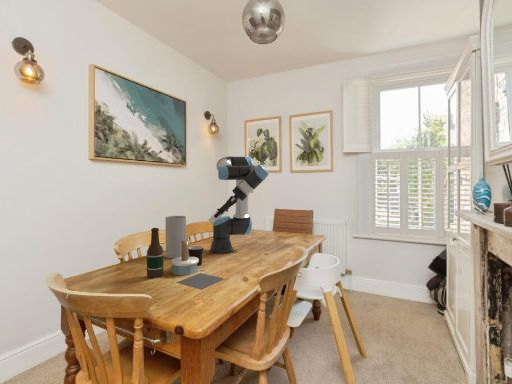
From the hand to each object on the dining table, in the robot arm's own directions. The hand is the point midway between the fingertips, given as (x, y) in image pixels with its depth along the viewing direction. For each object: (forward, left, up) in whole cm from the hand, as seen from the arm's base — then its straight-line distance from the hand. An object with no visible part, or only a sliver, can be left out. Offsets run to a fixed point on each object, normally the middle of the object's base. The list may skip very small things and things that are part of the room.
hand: (212, 220), depth 138 cm
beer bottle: (+18, -22, -28) cm, 40 cm away
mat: (+11, +2, -28) cm, 30 cm away
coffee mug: (-8, -19, -28) cm, 35 cm away
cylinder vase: (-14, -43, -28) cm, 53 cm away
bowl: (+5, -15, -28) cm, 32 cm away
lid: (+5, -15, -23) cm, 28 cm away
